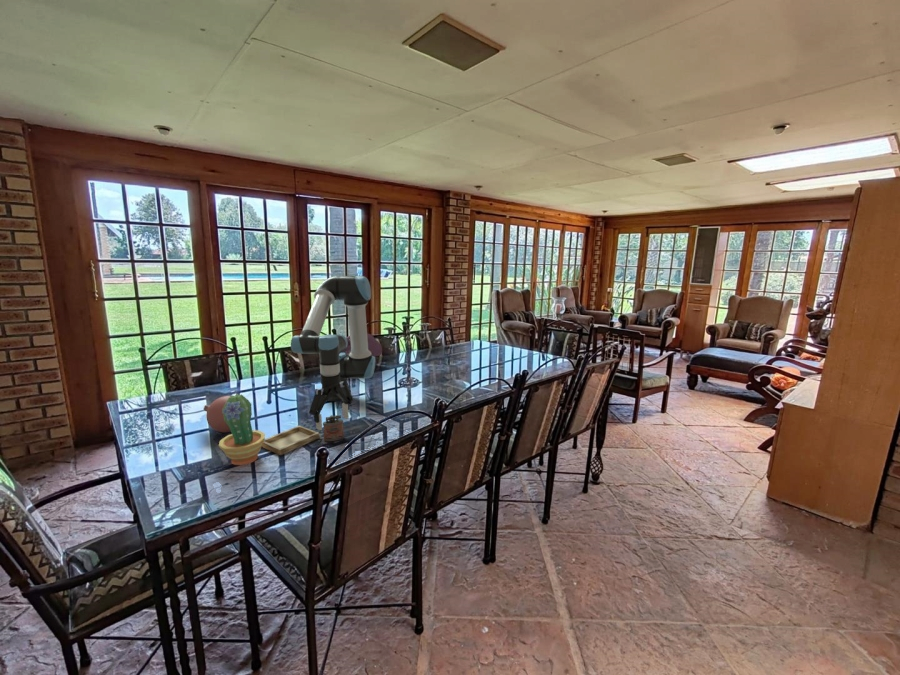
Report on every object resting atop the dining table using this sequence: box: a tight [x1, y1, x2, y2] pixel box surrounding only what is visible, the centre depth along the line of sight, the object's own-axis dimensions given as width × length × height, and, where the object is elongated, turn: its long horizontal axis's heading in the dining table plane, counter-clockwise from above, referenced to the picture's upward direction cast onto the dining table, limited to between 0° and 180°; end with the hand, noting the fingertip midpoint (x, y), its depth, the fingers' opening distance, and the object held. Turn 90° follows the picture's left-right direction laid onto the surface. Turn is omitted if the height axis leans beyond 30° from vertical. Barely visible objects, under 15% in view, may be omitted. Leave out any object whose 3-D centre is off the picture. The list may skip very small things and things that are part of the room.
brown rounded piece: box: [203, 395, 231, 433], centre depth 171 cm, size 15×20×15 cm
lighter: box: [322, 414, 345, 442], centre depth 164 cm, size 8×3×10 cm, turn 114°
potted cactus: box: [218, 393, 266, 466], centre depth 145 cm, size 15×15×25 cm
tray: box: [261, 425, 320, 456], centre depth 161 cm, size 18×13×2 cm
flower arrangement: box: [341, 332, 383, 357], centre depth 258 cm, size 35×24×28 cm
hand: (332, 423), depth 163 cm, fingers open, 13 cm apart
